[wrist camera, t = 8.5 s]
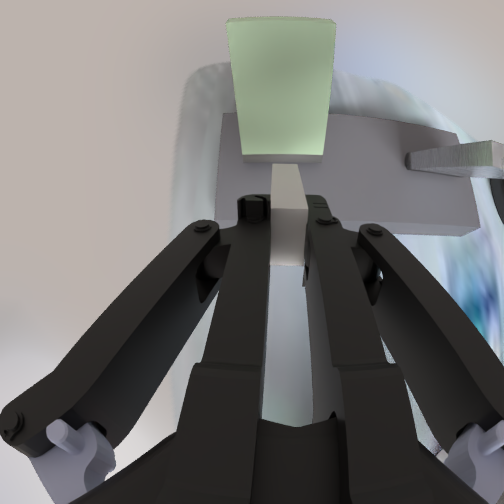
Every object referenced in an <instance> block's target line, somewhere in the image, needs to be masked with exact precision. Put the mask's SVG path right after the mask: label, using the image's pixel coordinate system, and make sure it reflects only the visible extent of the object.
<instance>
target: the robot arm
mask: <svg viewBox="0 0 504 504" xmlns="http://www.w3.org/2000/svg"><path fill="white" fill-rule="evenodd" d="M491 187H492V192H493V197H494V200H495V204H496V207H497V209H498V212H499V215H500V217H501V219H502V221H503V223H504V179H496V178H491ZM237 210H238V221H237V225H235V226H232V227H229V228H224V229H220V228H219V224H218V223H217V222H215V221H211V220H198V221H196V222H193V223H191V224H190V225H188V226H187V227H186V228H185V229H184V230H183V231H182V232H181V233H180V234H179V235H178V236H177V237H176V238H175V239H174V240H173V241H172V242H171V243H170V244H169V245H168V246H166V247H165V248H164V249H163V250H162V251H161V253H159V255H157V256H156V257H155V258H154V259H153V261H151V262H150V264H148V265H147V267H146V268H145V269H144V270H143V271H142V272H141V273H140V274H139V275H138V276H137V277H136V278H135V279H134V280H133V281H132V282H131V283H130V284H129V285H128V286H127V287H126V288H125V289H124V290H123V292H122V293H121V294H120V295H119V296H118V297H117V298H116V299H115V300H114V301H113V302H112V303H111V304H110V306H109V307H108V308H107V309H106V310H105V311H104V312H103V313H102V314H101V316H99V318H98V319H97V320H96V321H95V322H94V323H93V324H92V325H91V327H90V328H89V329H88V330H87V331H86V332H85V334H84V335H83V336H82V337H81V338H80V339H79V340H78V342H77V343H76V344H75V345H74V347H73V348H72V349H71V350H70V351H69V353H68V354H67V355H66V356H65V357H64V358H63V360H62V361H61V362H60V363H59V365H58V366H57V367H56V368H55V370H54V371H53V372H51V373H50V374H48V375H47V376H46V377H44V378H43V379H41V380H40V381H39V382H37V383H36V384H34V385H33V386H32V387H30V388H29V389H27V390H26V391H25V392H23V393H22V394H21V395H19V396H18V397H16V398H15V399H14V400H12V401H11V402H10V403H9V404H7V405H6V406H5V407H4V408H3V410H2V412H1V414H0V435H1V437H2V439H3V440H4V441H5V442H6V443H7V444H9V445H10V446H12V447H13V448H15V449H16V450H18V451H20V452H21V453H23V454H25V455H26V456H27V457H28V458H29V459H30V461H31V463H32V465H33V467H34V469H35V471H36V473H37V474H38V476H39V478H40V480H41V482H42V483H43V485H44V487H45V489H46V490H47V492H48V494H49V495H50V497H51V499H52V500H53V502H54V503H55V504H496V503H497V501H498V500H499V498H500V496H501V495H502V493H503V492H504V366H503V365H502V363H501V362H500V360H499V359H498V357H497V356H496V354H495V353H494V352H493V350H492V349H491V347H490V346H489V344H488V343H487V342H486V340H485V339H484V338H483V336H482V335H481V334H480V332H479V331H478V330H477V328H476V327H475V326H474V324H473V323H472V322H471V321H470V319H469V318H468V317H467V315H466V314H465V313H464V312H463V310H462V309H461V308H460V307H459V306H458V304H457V303H456V302H455V301H454V300H453V298H452V297H451V296H450V295H449V294H448V293H447V291H446V290H445V289H444V288H443V287H442V286H441V285H440V283H439V282H438V281H437V280H436V279H435V278H434V277H433V276H432V275H431V273H430V272H429V271H428V270H427V269H426V268H425V267H424V266H423V265H422V264H421V263H420V262H419V261H418V260H417V259H416V258H415V256H414V255H413V254H412V253H411V252H410V251H409V250H408V249H407V248H406V247H405V246H404V245H403V244H402V243H401V242H400V241H399V240H398V239H397V238H396V237H395V236H394V235H392V234H391V233H390V232H389V231H388V230H387V229H386V228H384V227H382V226H380V225H379V224H375V223H371V224H370V223H367V224H362V225H361V226H360V228H359V232H355V231H350V230H347V229H344V228H343V227H342V224H341V222H340V221H339V219H338V218H336V217H334V216H332V214H331V211H330V209H329V206H328V203H327V201H326V199H325V198H324V197H322V196H321V195H305V193H304V189H303V185H302V181H301V177H300V173H299V169H298V165H297V164H272V181H271V194H251V195H245V196H242V197H240V198H239V199H238V200H237ZM304 259H305V266H304V275H303V284H302V286H304V287H305V290H306V300H307V311H308V324H309V337H310V351H311V367H312V386H313V421H312V424H310V425H306V426H302V427H292V426H287V425H283V424H279V423H275V422H271V421H267V420H264V419H262V404H263V389H264V374H265V358H266V341H267V323H268V303H269V282H270V265H282V266H303V265H304ZM381 271H382V274H383V279H382V278H381V277H380V276H379V275H380V272H381ZM218 291H219V293H218V297H217V301H216V305H215V309H214V313H213V317H212V321H211V325H210V329H209V333H208V337H207V342H206V346H205V350H204V354H203V358H202V361H201V362H200V363H195V365H194V366H193V368H192V371H191V374H190V378H189V382H188V385H187V389H186V393H185V398H184V402H183V406H182V410H181V414H180V418H179V422H178V426H177V431H176V432H174V433H173V434H171V435H169V436H168V437H166V438H165V439H163V440H162V441H161V442H159V443H158V444H157V445H156V446H154V447H153V448H152V449H150V450H149V451H148V452H146V453H145V454H143V455H142V456H141V457H140V458H138V459H137V460H135V461H134V462H132V463H131V464H130V465H128V466H127V467H125V468H124V469H122V470H121V471H119V472H118V473H117V474H115V475H113V476H112V477H110V478H109V479H107V480H106V481H104V480H105V477H106V475H107V474H108V472H111V471H113V470H114V469H115V467H116V461H115V455H114V451H113V449H115V448H116V447H117V446H118V445H119V444H120V443H121V442H122V440H124V438H125V437H126V436H127V435H128V434H129V432H130V431H131V430H132V428H133V427H134V425H135V424H136V422H137V421H138V419H139V418H140V416H141V414H142V413H143V411H144V409H145V407H146V406H147V405H148V403H149V401H150V400H151V398H152V396H153V395H154V393H155V392H156V390H157V388H158V387H159V385H160V384H161V382H162V380H163V379H164V377H165V375H166V374H167V372H168V371H169V369H170V367H171V366H172V364H173V363H174V361H175V359H176V358H177V356H178V355H179V353H180V351H181V350H182V348H183V347H184V345H185V343H186V342H187V340H188V339H189V337H190V335H191V334H192V332H193V331H194V329H195V327H196V326H197V324H198V323H199V321H200V319H201V318H202V316H203V315H204V313H205V311H206V310H207V308H208V307H209V305H210V304H211V302H212V300H213V299H214V297H215V296H216V294H217V292H218ZM380 336H381V338H382V339H383V341H384V343H385V345H386V346H387V348H388V350H389V352H390V353H391V355H392V357H393V359H394V361H395V362H396V363H392V364H390V363H389V362H388V361H387V359H386V356H385V352H384V348H383V345H382V341H381V338H380ZM404 379H405V380H404ZM405 381H406V383H407V384H408V386H409V388H410V390H411V392H412V394H413V396H414V398H415V400H416V402H417V404H418V406H419V408H420V410H421V412H422V414H423V416H424V418H425V420H426V422H427V424H428V426H429V428H430V430H431V431H432V433H433V435H434V437H435V438H436V440H437V441H438V443H439V444H440V446H441V447H442V448H443V449H444V451H445V452H446V453H447V454H448V457H447V458H446V459H445V461H444V462H443V463H442V462H441V461H440V460H439V459H438V458H437V457H436V456H435V455H434V454H432V453H431V452H430V451H429V450H428V449H427V448H426V447H425V446H424V445H423V444H421V443H420V442H419V441H418V439H417V433H416V428H415V423H414V418H413V414H412V409H411V405H410V400H409V396H408V392H407V388H406V384H405Z"/></svg>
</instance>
